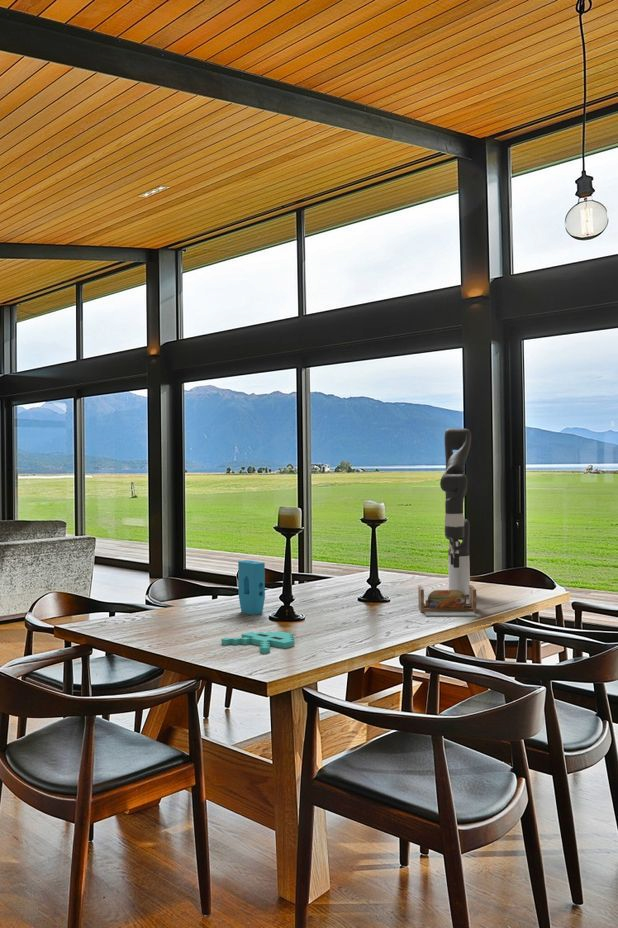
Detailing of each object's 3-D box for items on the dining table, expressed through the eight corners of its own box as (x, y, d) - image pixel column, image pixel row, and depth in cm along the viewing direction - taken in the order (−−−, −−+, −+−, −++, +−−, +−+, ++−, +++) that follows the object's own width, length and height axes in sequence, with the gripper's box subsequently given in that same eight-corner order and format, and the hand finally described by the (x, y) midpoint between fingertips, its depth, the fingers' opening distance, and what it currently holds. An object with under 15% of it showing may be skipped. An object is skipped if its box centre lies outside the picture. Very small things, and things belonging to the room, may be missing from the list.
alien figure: (264, 655, 240) (308, 643, 255) (264, 648, 240) (308, 636, 255) (221, 645, 254) (265, 635, 269) (221, 638, 254) (264, 628, 269)
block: (237, 611, 310) (237, 561, 310) (247, 609, 313) (247, 560, 313) (255, 615, 301) (255, 563, 301) (266, 613, 304) (265, 562, 304)
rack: (418, 607, 314) (418, 585, 314) (472, 607, 313) (471, 585, 313) (420, 612, 303) (420, 589, 303) (476, 612, 302) (476, 589, 302)
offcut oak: (425, 604, 313) (425, 599, 313) (438, 604, 312) (438, 599, 312) (425, 605, 310) (425, 600, 310) (438, 605, 310) (438, 600, 310)
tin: (428, 611, 305) (427, 590, 305) (426, 610, 309) (426, 589, 309) (466, 611, 305) (466, 590, 305) (464, 610, 308) (464, 588, 308)
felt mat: (424, 613, 302) (424, 611, 302) (473, 613, 301) (473, 611, 301) (426, 616, 295) (426, 615, 295) (476, 616, 294) (476, 615, 294)
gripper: (442, 523, 314) (443, 564, 313) (447, 526, 299) (447, 568, 299) (461, 523, 313) (461, 564, 313) (466, 526, 299) (467, 568, 299)
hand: (454, 566), depth 306 cm, fingers open, 8 cm apart
